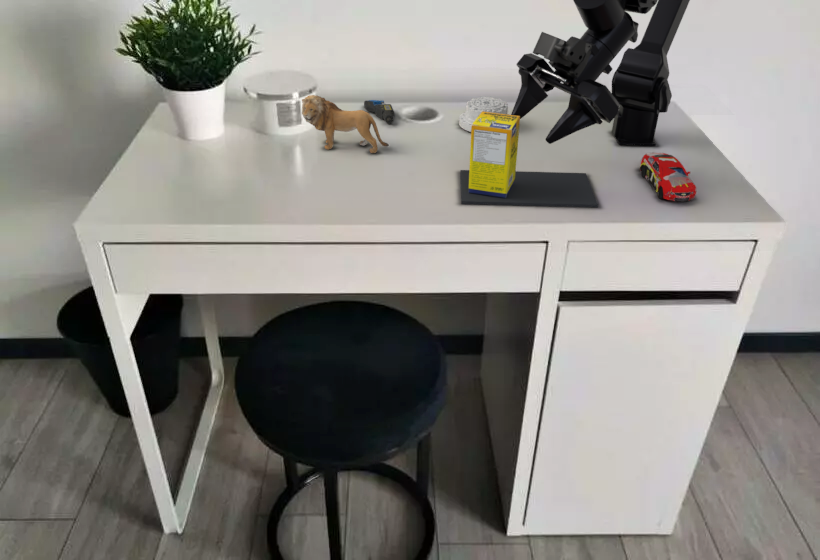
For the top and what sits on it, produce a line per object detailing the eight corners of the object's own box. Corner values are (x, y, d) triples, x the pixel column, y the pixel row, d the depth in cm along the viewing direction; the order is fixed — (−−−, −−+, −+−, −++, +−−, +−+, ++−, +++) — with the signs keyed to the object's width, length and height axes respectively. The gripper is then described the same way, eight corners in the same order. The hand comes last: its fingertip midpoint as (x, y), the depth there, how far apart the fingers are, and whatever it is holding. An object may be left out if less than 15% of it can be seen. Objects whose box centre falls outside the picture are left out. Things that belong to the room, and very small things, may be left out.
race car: (698, 205, 105) (705, 181, 103) (662, 206, 105) (668, 181, 103) (668, 168, 116) (673, 145, 114) (635, 168, 116) (640, 145, 114)
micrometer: (363, 97, 139) (388, 96, 140) (363, 106, 140) (388, 105, 141) (370, 117, 129) (397, 116, 130) (370, 127, 130) (397, 126, 131)
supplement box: (514, 183, 110) (521, 115, 104) (506, 199, 105) (512, 129, 99) (477, 177, 111) (481, 110, 105) (467, 193, 107) (471, 123, 101)
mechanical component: (459, 135, 127) (515, 136, 127) (461, 111, 125) (517, 112, 125) (457, 115, 136) (510, 116, 135) (458, 93, 133) (512, 94, 133)
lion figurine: (301, 151, 121) (297, 100, 116) (307, 140, 125) (303, 89, 120) (387, 154, 120) (386, 102, 115) (390, 142, 124) (389, 92, 119)
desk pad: (585, 175, 113) (586, 173, 113) (597, 207, 104) (598, 204, 104) (460, 172, 114) (460, 169, 114) (461, 204, 105) (461, 201, 105)
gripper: (532, -2, 106) (465, 81, 108) (616, 26, 92) (538, 121, 94) (568, 45, 113) (505, 122, 115) (651, 77, 99) (577, 165, 101)
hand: (528, 131), depth 106 cm, fingers open, 9 cm apart
